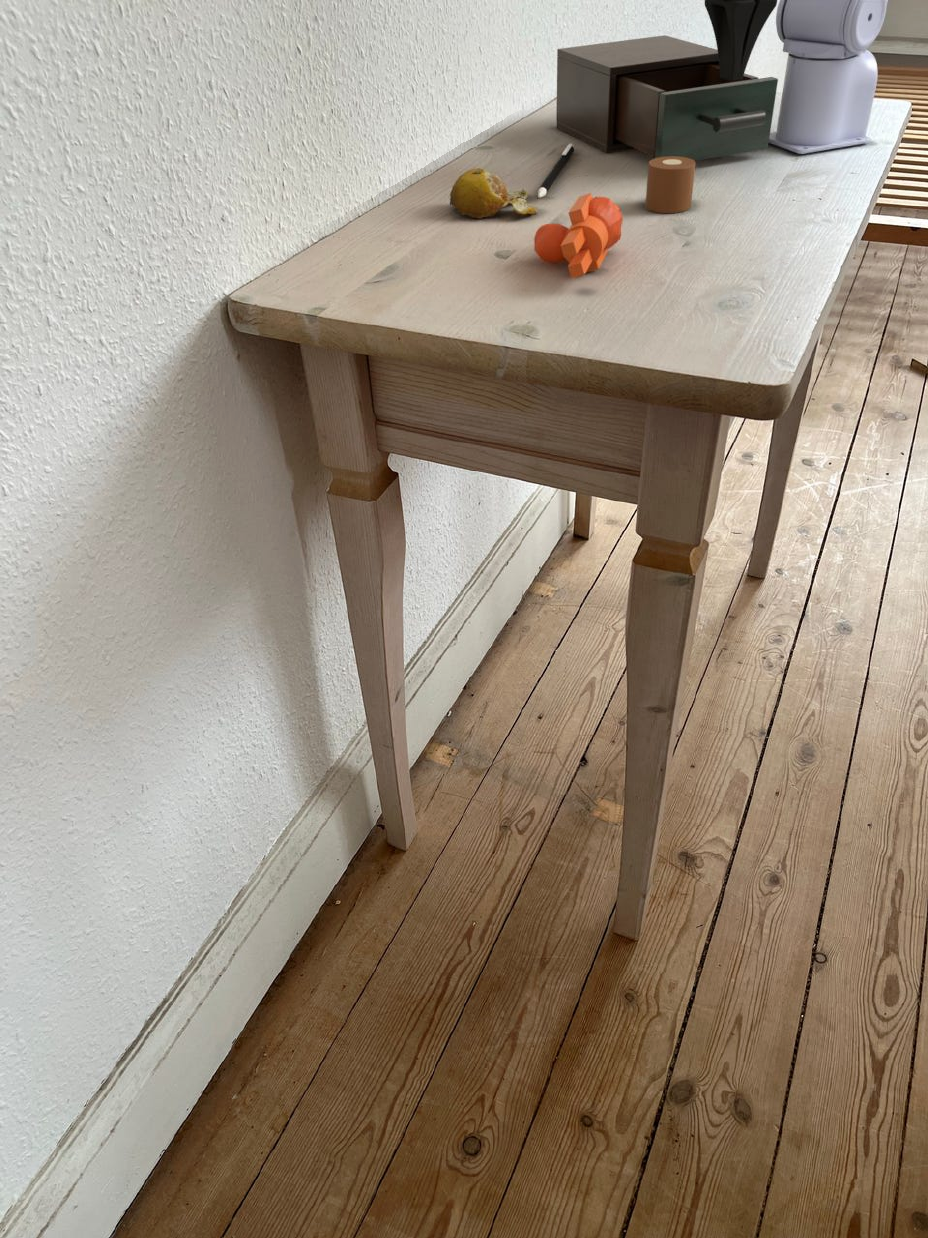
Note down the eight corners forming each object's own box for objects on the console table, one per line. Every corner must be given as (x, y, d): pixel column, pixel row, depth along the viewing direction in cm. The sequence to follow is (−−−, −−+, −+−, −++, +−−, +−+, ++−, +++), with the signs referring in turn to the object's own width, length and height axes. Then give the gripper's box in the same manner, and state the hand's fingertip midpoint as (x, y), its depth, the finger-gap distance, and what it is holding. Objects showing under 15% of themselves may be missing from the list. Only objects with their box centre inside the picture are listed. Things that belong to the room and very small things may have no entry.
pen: (576, 150, 108) (576, 139, 108) (543, 201, 94) (543, 189, 94) (568, 150, 108) (569, 139, 108) (534, 201, 95) (534, 189, 94)
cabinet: (716, 135, 111) (726, 51, 105) (606, 153, 107) (610, 67, 102) (659, 112, 121) (665, 34, 115) (556, 128, 117) (557, 48, 112)
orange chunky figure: (595, 218, 72) (622, 174, 81) (507, 245, 76) (542, 200, 84) (612, 281, 75) (637, 232, 84) (527, 305, 78) (558, 255, 87)
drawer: (791, 158, 99) (803, 85, 95) (680, 176, 96) (688, 102, 92) (706, 124, 111) (713, 59, 107) (605, 140, 108) (608, 73, 104)
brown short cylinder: (676, 196, 94) (680, 152, 91) (699, 208, 91) (704, 163, 88) (637, 203, 93) (640, 159, 90) (659, 215, 90) (663, 170, 87)
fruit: (540, 218, 91) (540, 177, 88) (455, 226, 90) (453, 186, 88) (524, 193, 97) (524, 155, 95) (445, 201, 96) (442, 162, 94)
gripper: (792, -100, 90) (769, 62, 98) (658, -88, 86) (647, 79, 95) (840, -97, 84) (811, 74, 93) (699, -84, 81) (683, 92, 90)
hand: (731, 78), depth 94 cm, fingers closed
